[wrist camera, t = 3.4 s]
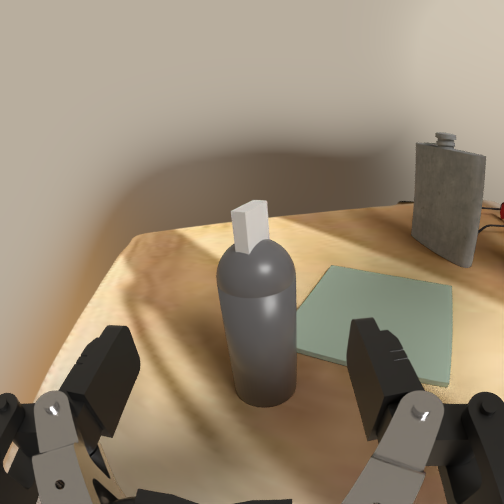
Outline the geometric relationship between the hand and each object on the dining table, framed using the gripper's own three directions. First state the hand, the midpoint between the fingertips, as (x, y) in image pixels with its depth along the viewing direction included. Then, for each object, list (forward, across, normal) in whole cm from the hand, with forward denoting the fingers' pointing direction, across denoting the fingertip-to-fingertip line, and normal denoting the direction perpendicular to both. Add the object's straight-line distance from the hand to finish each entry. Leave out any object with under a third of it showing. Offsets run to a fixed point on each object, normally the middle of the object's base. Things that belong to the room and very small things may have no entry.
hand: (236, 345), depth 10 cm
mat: (+19, -14, +14) cm, 27 cm away
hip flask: (+36, -31, +13) cm, 49 cm away
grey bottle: (+10, 0, +14) cm, 17 cm away
